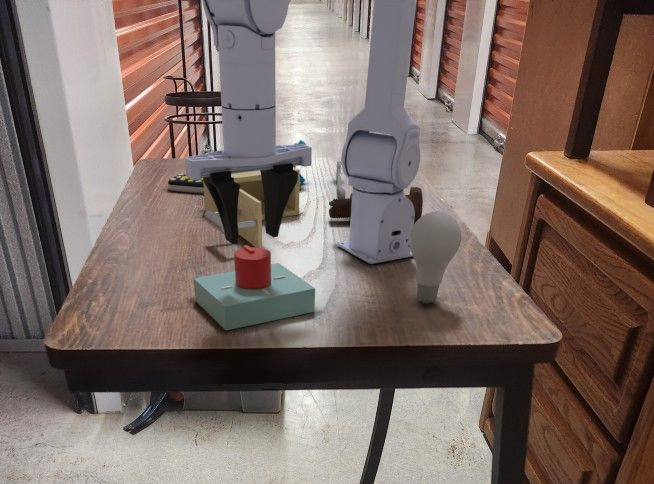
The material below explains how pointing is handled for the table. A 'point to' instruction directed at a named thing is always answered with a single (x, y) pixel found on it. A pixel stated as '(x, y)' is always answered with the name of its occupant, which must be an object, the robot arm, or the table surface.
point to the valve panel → (254, 298)
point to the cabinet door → (244, 219)
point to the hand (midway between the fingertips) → (252, 238)
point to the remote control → (186, 184)
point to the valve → (252, 267)
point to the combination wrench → (339, 182)
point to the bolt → (343, 206)
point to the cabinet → (257, 192)
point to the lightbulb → (433, 250)
